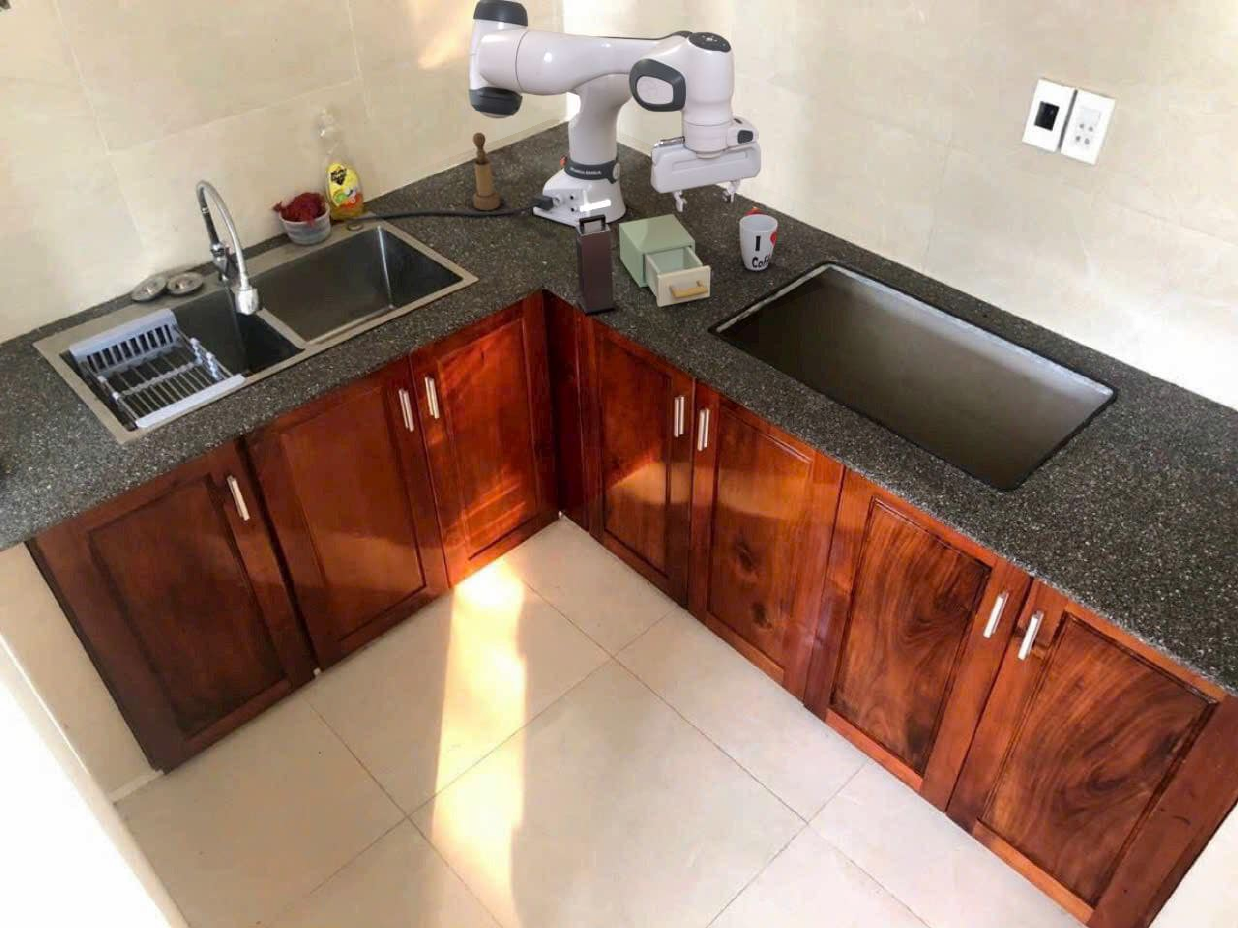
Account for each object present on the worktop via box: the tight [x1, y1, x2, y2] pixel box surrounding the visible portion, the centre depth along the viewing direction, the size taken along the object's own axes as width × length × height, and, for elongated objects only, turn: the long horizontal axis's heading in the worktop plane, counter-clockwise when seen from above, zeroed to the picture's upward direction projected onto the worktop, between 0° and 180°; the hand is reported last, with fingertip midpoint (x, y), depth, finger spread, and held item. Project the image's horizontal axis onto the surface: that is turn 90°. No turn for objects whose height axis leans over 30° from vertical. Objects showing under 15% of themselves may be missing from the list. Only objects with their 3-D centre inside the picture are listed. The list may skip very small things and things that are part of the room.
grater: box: [574, 214, 616, 317], centre depth 202 cm, size 5×6×21 cm
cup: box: [739, 214, 778, 271], centre depth 217 cm, size 8×8×10 cm
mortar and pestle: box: [472, 132, 501, 211], centre depth 241 cm, size 7×6×18 cm
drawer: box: [643, 246, 711, 308], centre depth 208 cm, size 17×11×7 cm
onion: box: [744, 205, 766, 217], centre depth 227 cm, size 6×6×8 cm
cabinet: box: [618, 213, 696, 288], centre depth 218 cm, size 14×13×9 cm
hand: (705, 205), depth 183 cm, fingers open, 8 cm apart
